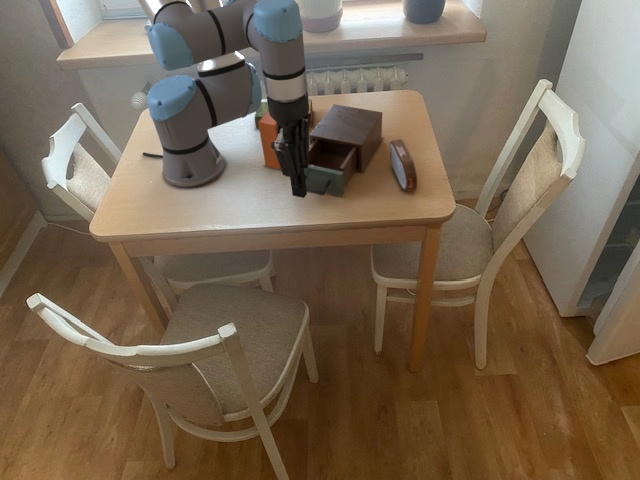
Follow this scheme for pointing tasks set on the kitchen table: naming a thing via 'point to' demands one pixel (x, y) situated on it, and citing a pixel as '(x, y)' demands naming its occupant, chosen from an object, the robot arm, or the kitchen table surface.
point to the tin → (403, 165)
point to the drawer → (330, 167)
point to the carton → (264, 109)
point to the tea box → (268, 140)
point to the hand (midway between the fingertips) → (299, 194)
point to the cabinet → (351, 130)
